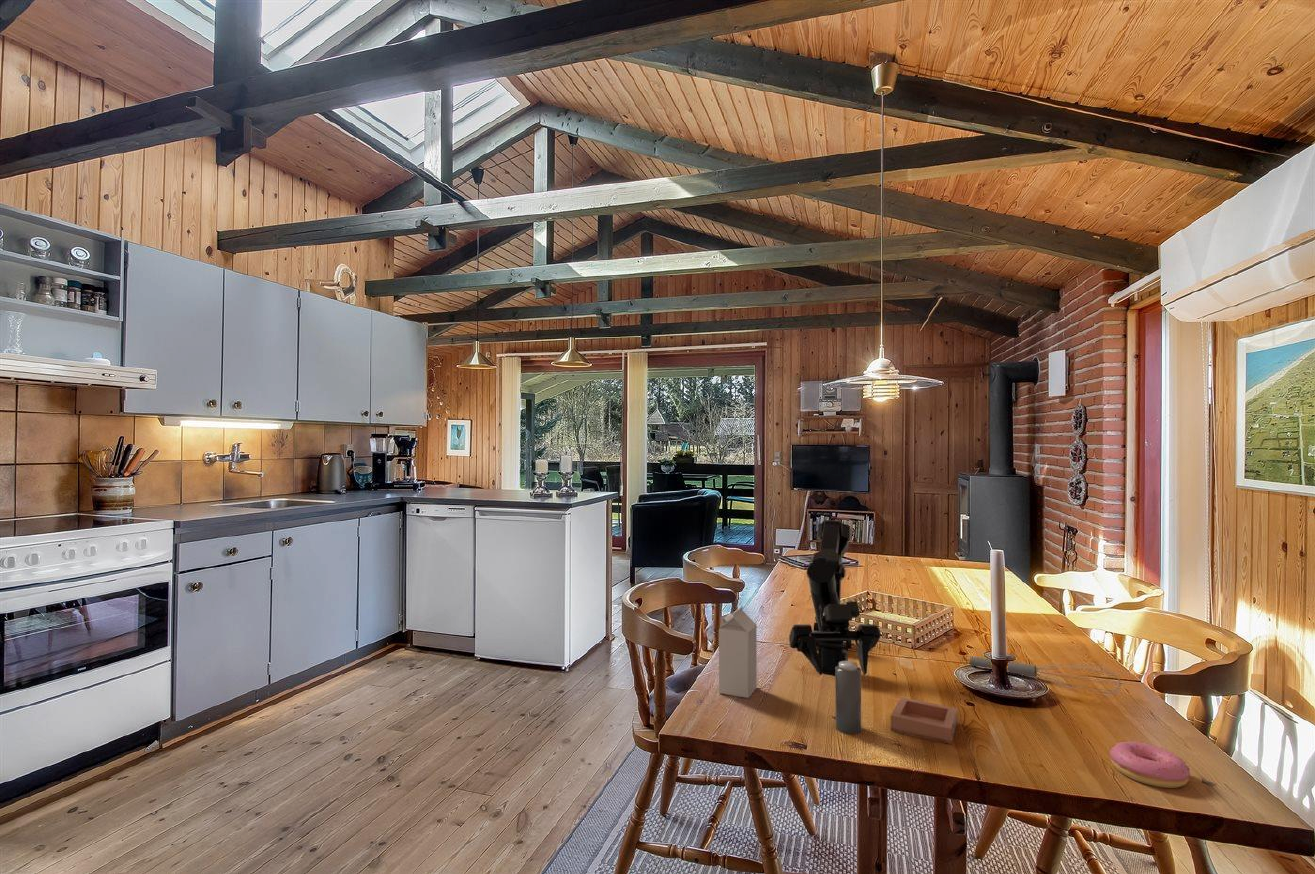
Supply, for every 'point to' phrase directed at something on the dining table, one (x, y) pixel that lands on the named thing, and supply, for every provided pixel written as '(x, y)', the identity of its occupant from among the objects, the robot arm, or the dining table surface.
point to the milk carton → (738, 655)
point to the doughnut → (1149, 764)
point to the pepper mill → (848, 697)
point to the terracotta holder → (924, 720)
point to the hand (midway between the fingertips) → (843, 673)
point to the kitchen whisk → (1032, 670)
